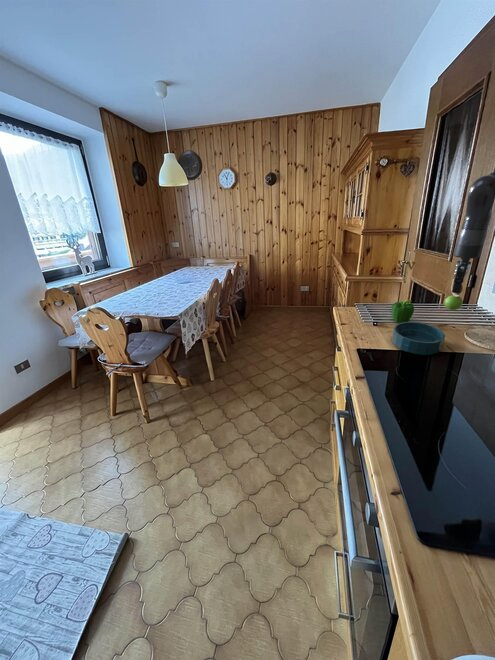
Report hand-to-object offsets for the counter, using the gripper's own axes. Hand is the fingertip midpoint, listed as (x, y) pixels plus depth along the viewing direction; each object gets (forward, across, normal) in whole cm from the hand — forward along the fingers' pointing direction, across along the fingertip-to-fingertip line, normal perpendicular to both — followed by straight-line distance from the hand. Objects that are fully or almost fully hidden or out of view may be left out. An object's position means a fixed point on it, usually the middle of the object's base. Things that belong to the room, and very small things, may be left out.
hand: (456, 289), depth 103 cm
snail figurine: (+8, 0, 0) cm, 8 cm away
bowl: (+18, -14, +7) cm, 24 cm away
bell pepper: (+19, +4, +16) cm, 25 cm away
